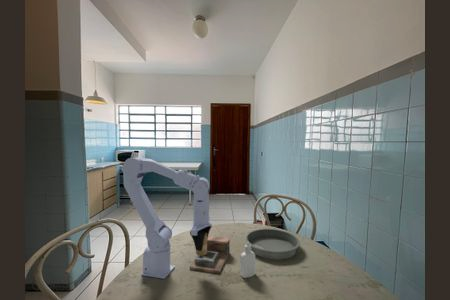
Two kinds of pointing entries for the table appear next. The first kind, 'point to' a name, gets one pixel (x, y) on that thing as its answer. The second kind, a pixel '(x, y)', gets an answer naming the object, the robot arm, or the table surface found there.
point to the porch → (213, 255)
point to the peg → (204, 249)
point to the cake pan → (273, 243)
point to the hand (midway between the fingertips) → (201, 247)
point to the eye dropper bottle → (247, 262)
